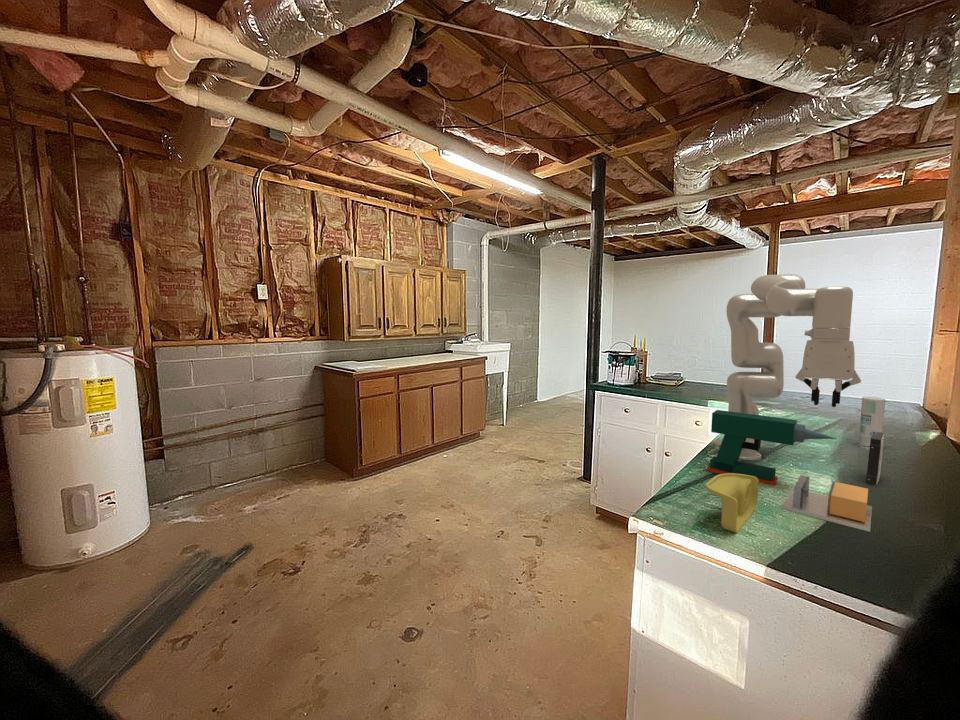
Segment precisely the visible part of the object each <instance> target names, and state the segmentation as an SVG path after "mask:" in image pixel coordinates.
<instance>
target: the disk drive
mask: <svg viewBox="0 0 960 720" xmlns="http://www.w3.org/2000/svg"><path fill="white" fill-rule="evenodd" d="M884 437H885V433H884V432H882V433H881V432H873V434H872V436H871V440H870V448H869V450H868V451H869V452H868V458H867V459H868V461H867V470H866V478H865V484H867V485H870V486H871V485H872V486H875V485H876V486H877V485H878V483H879V481H880V478H881V477H880V476H881V470H882V462H883V449H884V444H885V442H884V441H885V438H884Z"/></svg>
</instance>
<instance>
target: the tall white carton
mask: <svg viewBox="0 0 960 720" xmlns="http://www.w3.org/2000/svg"><path fill="white" fill-rule="evenodd" d="M885 406H886V399H885V398H884V397H883V398H882V397H874V396H863V397H861V407H860V409H861V410H860V422H859V426H860V427H859V434H858V435H859V437H858V447H859V446H860V447H862V448H861V449H863V448H866V449H865V450H868V449H869V448H870V440H871V436H872V434H873V432H881V433H883V428H884V419H885V418H884V417H885ZM860 447H859V448H860Z"/></svg>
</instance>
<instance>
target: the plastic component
mask: <svg viewBox="0 0 960 720" xmlns="http://www.w3.org/2000/svg"><path fill="white" fill-rule="evenodd" d="M759 483H760V482H759V481H758V479H757V478H756V477H754V476H750V475H744V474H735V473H725V474H720V473H718V474H716V475H715V476H713V477H711V479H710V480H709V481H707V482H706V483H705V489H706V491H707V492H709V493H710V494H711V495H715V496H716V497H718V498H720V500H721V519H720V523H721V524H720V525H721V527H722V529H723V530H727V531H729V532H732V533H736V534H738V533H739V531H740V530H741V529H742V527H744V525H745V524H746V523H747V521H748V520H749V519H750V518H751V517H752V516H753V515H754V513H755V510H756V507H757V503H758V497H759Z"/></svg>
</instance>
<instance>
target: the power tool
mask: <svg viewBox="0 0 960 720" xmlns="http://www.w3.org/2000/svg"><path fill="white" fill-rule="evenodd" d="M797 422H798V419H792V418H791V419H790V418H783V417H778V416H777V417H776V416H769V415H761V414H759V415H754V414H746V413H738V412H730V411H728V410H722V409H716V410H715V411H713V412H712V413H711V427H710V428H711V429H710V431H711V432H710V433H715V434H719V435H721V434H722V435H723V438H722V440H721V441H722V443H721V446H719V449H718V451H717V455H716V456H715V455H714V456H713V457H712V458H711V459H709V466H708V467H707V472H711V473H716V474H725V473H735V474H744V475H750V476H754V477H756V478H757V479H758V481H759V483H762V484H766V485H770V486H775V485H776V483H777V481H778V480H779V479H778V477H779V476H776V472H777V471H776V470H777V468H775V467H770V466H766V465H761V464H755V463H750V462H744V461H742V460H741V461H740V459H739V457H740V454H741V452H742V449H743V448H745V449H751V450H756V452H758V451H759V450H760V449H761V443H762V442H761V441H764V442H769V443H776V444H783V445H788V446H794V444H795V442H797V443H804V442H805V440H837V439H838V438H836V437H833V436H830V435H827V434H824V433H822V432H817V431H814V430H810V429H807V428H806V425H805V424H801V423H797ZM746 438H750V439H754V443H749V442H745V441H746Z"/></svg>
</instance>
